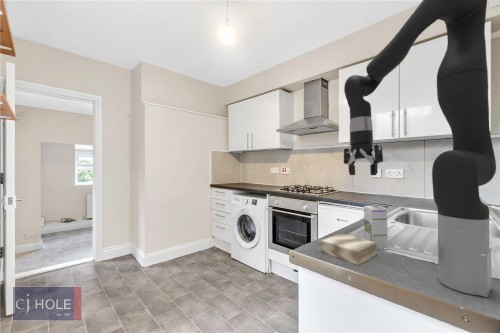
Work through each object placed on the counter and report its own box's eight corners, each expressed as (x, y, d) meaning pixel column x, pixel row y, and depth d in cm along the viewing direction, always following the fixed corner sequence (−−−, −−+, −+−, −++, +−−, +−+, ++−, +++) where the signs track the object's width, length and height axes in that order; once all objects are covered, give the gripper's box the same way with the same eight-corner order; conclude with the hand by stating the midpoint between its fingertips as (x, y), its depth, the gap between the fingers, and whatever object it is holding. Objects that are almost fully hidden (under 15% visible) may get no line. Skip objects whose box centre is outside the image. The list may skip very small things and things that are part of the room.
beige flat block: (376, 254, 75) (376, 242, 75) (358, 265, 68) (357, 251, 68) (340, 243, 85) (340, 233, 85) (321, 251, 78) (320, 240, 78)
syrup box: (388, 249, 79) (388, 208, 79) (371, 249, 79) (371, 208, 79) (379, 243, 85) (379, 205, 84) (363, 243, 85) (363, 205, 84)
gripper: (386, 128, 78) (388, 175, 78) (351, 134, 91) (352, 174, 91) (372, 126, 75) (374, 175, 75) (338, 133, 87) (339, 175, 87)
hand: (362, 175), depth 83 cm, fingers open, 8 cm apart
